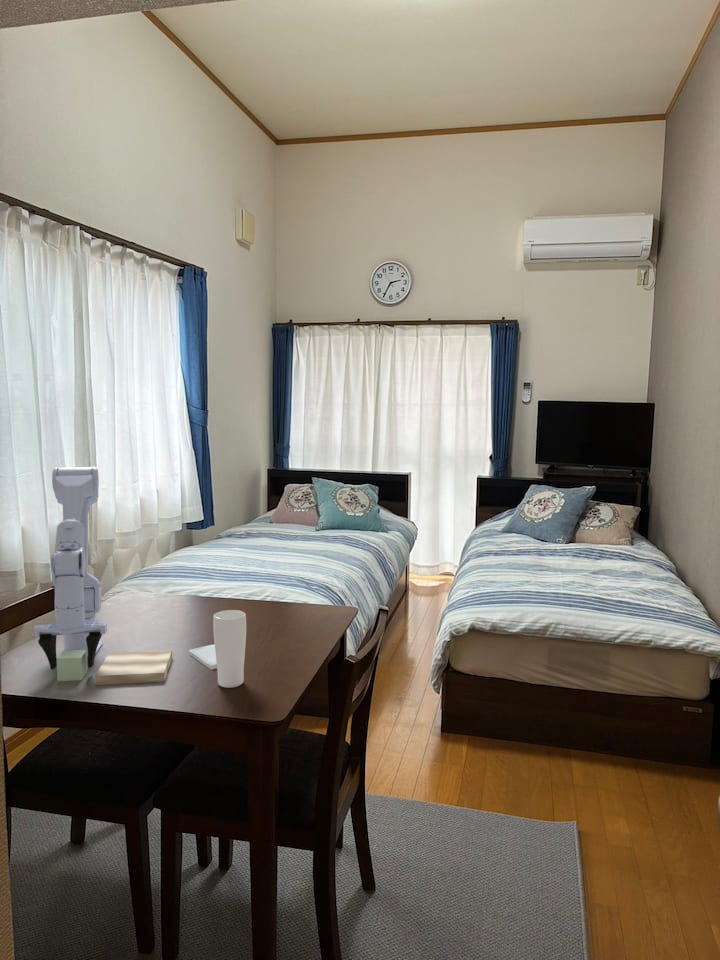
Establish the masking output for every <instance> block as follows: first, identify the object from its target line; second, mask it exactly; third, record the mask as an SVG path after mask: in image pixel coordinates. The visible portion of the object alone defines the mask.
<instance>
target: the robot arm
mask: <svg viewBox="0 0 720 960" xmlns="http://www.w3.org/2000/svg"><path fill="white" fill-rule="evenodd" d="M99 479H100V478H99V469H98V467H96V466H95V465H94V466H93V465H92V466H79V467H78V466H74V467H72V466H71V467H66V466H64V467H59V466H55V467H54V468H53V469H52V474H51V482H52V490H53V492H54V496H55V499H56V501H57V503H58V504H60V505H62V522H60V523H58V525H57V526H56V534H55V535H56V536H55V544H54V545H55V546H54V553H51V556H50V573H51V577H52V586H53V587H54V612H55V622H56V623H49V624H40V625H38V624H37V625H36V626H34V628H33V637H34V638H39V639H38V640H37V641H38V642H37V643H38V645H39V646H40V648H41V649H42V651H43V652H44V654H45V657H46V658H47V661H48V664H49V667H50V668H49V669H50V670H55V669H57V658H58V656H57V636H62V635H63V636H62V637H63V639H62V640H63V650H62V651H65V650H87V665H88V669H89V668H90V669H91V668H93V666H94V664H95V657H96V654H97V653H98V651H99V650H100V649H101V647H102V645H103V644H104V643H103V641H101V638H102V636H103V635H105V634H106V633H108V623H107V622H99V621H98V617H97V614H99V613H100V612H101V610H102V590H101V581H99V579H98V578H97V577H95V576H94V575H93V574H90V573H89V513H90V507H91V506H92V505H93V504H96V503H97V502H98V498H99V487H100V486H99V482H100V481H99ZM60 654H61V652H60ZM60 654H59V655H60Z"/></svg>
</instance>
